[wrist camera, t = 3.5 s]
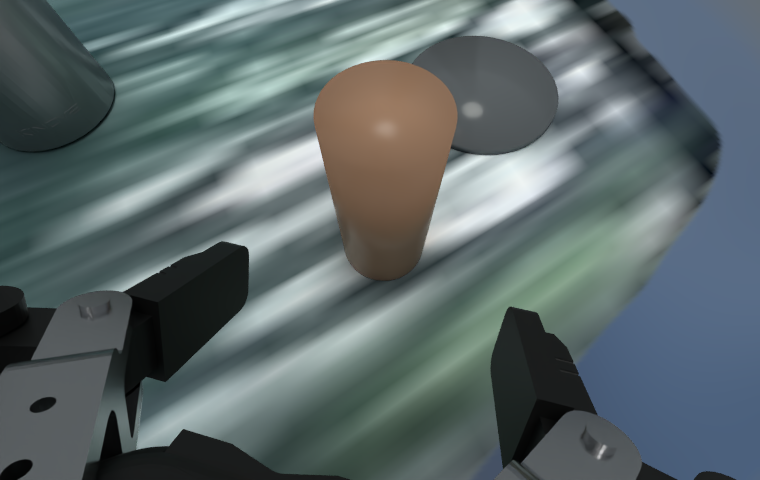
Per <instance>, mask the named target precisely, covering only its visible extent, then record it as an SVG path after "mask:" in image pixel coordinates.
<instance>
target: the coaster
mask: <svg viewBox="0 0 760 480" xmlns="http://www.w3.org/2000/svg"><path fill="white" fill-rule="evenodd" d="M412 64H413V65H416V66H418V67H421V68H423V69H425V70H427V71H429V72H430V73H432V74H434V75H435V76H436V77H437V78H439V79H440V80H441V81H442V82H443V83H444V84H445V85H446V86H447V88H448V89H449V91H450V92H451V94H452V96H453V98H454V100H455V103H456V107H457V125H456V130H455V133H454V137H453V141H452V144H451V148H453V149H456V150H459V151H463V152H467V153H473V154H483V155H493V154H503V153H508V152H512V151H516V150H518V149H521V148H523V147H526V146H527V145H529V144H531V143H533V142H534V141H535V140H537V139H538V138H539V137H540V136H541V135H542V134H543V133H544V132H545V131H546V130H547V128H548V127H549V125H550V123H551V122H552V120H553V118H554V116H555V114H556V111H557V107H558V91H557V87H556V84H555V81H554V79H553V77H552V75H551V73H550V72H549V71H548V69H547V68H546V67H545V66H544V64H543V63H542V62H541V61H540V60H539V59H537V58H536V57H535V56H534V55H532V54H531V53H530V52H528V51H526V50H525V49H523V48H521V47H519V46H517V45H515V44H512V43H510V42H507V41H504V40H500V39H496V38H491V37H484V36H463V37H456V38H452V39H447V40H445V41H442V42H439V43H437V44H435V45H433V46H431V47H429V48H428V49H426V50H425V51H424V52H422V53H421V54H420V55H419V56H418V57H417V58H416V59H415V60H414V62H413V63H412Z"/></svg>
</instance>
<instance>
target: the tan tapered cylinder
mask: <svg viewBox="0 0 760 480" xmlns="http://www.w3.org/2000/svg"><path fill="white" fill-rule="evenodd" d="M314 124H315V129H316V133H317V137H318V141H319V145H320V149H321V153H322V158H323V162H324V166H325V170H326V174H327V178H328V182H329V187H330V191H331V195H332V199H333V203H334V207H335V212H336V216H337V220H338V224H339V228H340V232H341V236H342V241H343V245H344V249H345V253H346V256H347V258H348V261H349V262H350V264H351V265H352V266H353V268H354V269H355V270H356V271H358V272H359V273H360V274H362V275H363V276H365V277H368V278H370V279H374V280H380V281H388V280H394V279H397V278H400V277H402V276H404V275H406V274H407V273H409V272H410V271H411V270H412V269H413V268H414V267H415V266H416V264H417V263H418V261H419V259H420V257H421V254H422V251H423V247H424V244H425V240H426V236H427V232H428V229H429V225H430V221H431V218H432V214H433V210H434V207H435V203H436V199H437V196H438V192H439V188H440V185H441V181H442V177H443V174H444V170H445V166H446V163H447V159H448V155H449V152H450V148H451V144H452V141H453V137H454V133H455V130H456V125H457V107H456V103H455V100H454V98H453V96H452V94H451V92H450V91H449V89H448V88H447V86H446V85H445V84H444V83H443V82H442V81H441V80H440V79H439V78H437V77H436V76H435V75H434V74H432V73H430V72H429V71H427V70H425V69H423V68H421V67H418V66H416V65H413V64H409V63H406V62H400V61H391V60H378V61H370V62H365V63H361V64H358V65H355V66H352V67H350V68H348V69H346V70H344V71H342V72H341V73H339V74H337V75H336V76H335V77H334V78H332V79H331V80H330V81H329V82H328V83H327V84H326V85H325V87H324V88H323V89H322V91H321V92H320V94H319V96H318V98H317V101H316V103H315V108H314Z"/></svg>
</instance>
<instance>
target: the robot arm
mask: <svg viewBox="0 0 760 480" xmlns="http://www.w3.org/2000/svg"><path fill="white" fill-rule="evenodd" d="M113 98H114V87H113V82H112V80H111V79H110V77H109V76H108V74H107V73H106V72H105V71H104V69H103V68H102V67H101V66H100V65H99V63H98V62H97V61H96V60H95V59H94V57H93V56H92V55H91V54H90V53H89V51H88V50H87V49H86V48H85V47H84V46H83V44H82V43H81V42H80V41H79V40H78V38H77V37H76V36H75V35H74V33H73V32H72V31H71V30H70V28H69V27H68V26H67V25H66V24H65V22H64V21H63V20H62V19H61V18H60V16H59V15H58V14H57V13H56V12H55V10H54V9H53V8H52V7H51V6H50V5H49V3H48V2H47V1H46V0H0V142H1V143H2V144H4V145H5V146H7V147H9V148H12V149H16V150H19V151H30V152H32V151H44V150H49V149H53V148H57V147H60V146H63V145H65V144H68V143H70V142H73V141H74V140H76V139H78V138H80V137H82V136H83V135H85V134H86V133H88V132H89V131H90V130H91V129H93V128H94V127H95V126H96V125H97V124H98V123H99V122H100V121H101V120H102V119H103V118H104V116H105V115H106V113H107V112H108V110H109V109H110V107H111V104H112V101H113ZM248 279H249V252H248V249H247V248H246V247H245V246H241V245H237V244H232V243H228V242H223V241H222V242H219V243H217V244H215V245H214V246H212V247H210V248H209V249H207V250H205V251H204V252H201V253H198V254H194V255H191V256H187V257H184V258H182V259H181V260H179V261H177V262H175V263H174V264H172V265H171V267H167V268H165V269H163V270H161V271H160V273H156V274H154V275H152V276H151V277H149V278H147V279H145V280H144V281H142V282H140V283H138V284H137V285H135V286H133V287H131V288H130V289H128V290H126V291H124V292H119V291H96V292H90V293H86V294H82V295H79V296H76V297H74V298H71V299H69V300H67V301H65V302H64V303H63V304H61V305H60V306H59V307H58V308H57V309H55V308H28V307H27V305H26V301H25V297H24V293H23V291H22V290H21V289H19V288H16V287H11V286H0V480H350V479H346V478H343V477H340V476H326V475H298V474H280V473H276V472H274V471H272V470H271V469H269V468H268V467H266V466H264V465H263V464H261V463H260V462H258V461H257V460H255V459H254V458H252V457H251V456H249V455H248V454H246V453H245V452H243V451H242V450H240V449H239V448H237V447H236V446H234V445H233V444H231V443H227V442H224V441H221V440H217V439H214V438H211V437H207V436H204V435H201V434H198V433H194V432H191V431H188V430H184V429H183V430H182V431H181V433H180V434H179V435H178V436H177V437H176V439H175V440H174V441H173V442H172V443H171V444H170V446H162V447H150V448H144V449H138V450H136V448H137V439H138V431H139V423H140V414H141V406H142V397H143V385H142V380H143V379H144V378H145V377H149V378H153V379H156V380H160V381H163V382H166V381H167V380H168V379H169V378H170V377H171V376H172V375H173V374H174V373H175V372H177V371H178V370H179V369H180V368H181V367H182V366H183V365H184V364H185V363H186V362H187V361H188V360H189V359H190V358H191V357H192V356H193V355H194V354H195V353H196V352H197V351H198V350H199V349H200V348H202V347H203V346H204V345H205V344H206V343H207V342H208V341H209V340H210V339H211V338H212V337H213V336H214V335H215V334H216V333H217V332H218V331H219V330H220V329H221V328H222V327H223V326H224V325H225V324H227V323H228V322H229V321H230V320H231V319H232V318H233V317H234V316H235V315H236V314H237V313H238V312H239V311H240V310H241V309H242V307H243V306H244V304H245V302H246V299H247V296H248ZM578 374H579V373H578V371H577V369H576V366H575V364H573V360H572V357H571V355H570V353H569V351H568V349H567V347H566V346H565V345H564V344H563V343H562V342H561V341H560V340H559V339H558V338H557V337H556V336H555V335H554V334H550V333H546V332H545V330H544V328H543V325H542V323H541V320H540V317H539V315H538V313H536V312H532V311H528V310H523V309H519V308H515V307H509V308H508V309H507V311H506V314H505V316H504V319H503V322H502V326H501V329H500V332H499V335H498V338H497V341H496V344H495V347H494V350H493V353H492V358H491V379H492V387H493V395H494V402H495V410H496V418H497V426H498V434H499V441H500V449H501V456H502V465H503V470H502V472H500V474H499V475H498V476H497V477H496V478H495V479H494V480H677V479H675V478H673V477H671V476H669V475H667V474H665V473H663V472H661V471H659V470H657V469H655V468H652V467H651V466H649V465H647V464H645V463H643V462H642V461H641V456H640V454H639V451H638V449H637V448H636V446H635V445H634V443H633V442H632V441H631V440H630V439H629V437H627V435H626V434H625V433H624V432H622V431H621V430H620V429H619V428H618V427H616V426H615V425H613V424H612V423H611V422H609V421H607V420H606V419H604V418H602V417H600V416H598V415H597V413H596V411H595V408H594V406H593V404H592V402H591V400H590V397H589V395H588V393H587V391H586V388H585V386H584V384H583V382H582V380H581V377H580V376H578ZM694 480H736V479H733V478H731V477H729V476H726V475H724V474H721V473H716V472H710V471H709V472H708V471H706V472H701V473H699V474H698V475H697V476H696V477H695V479H694Z"/></svg>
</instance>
